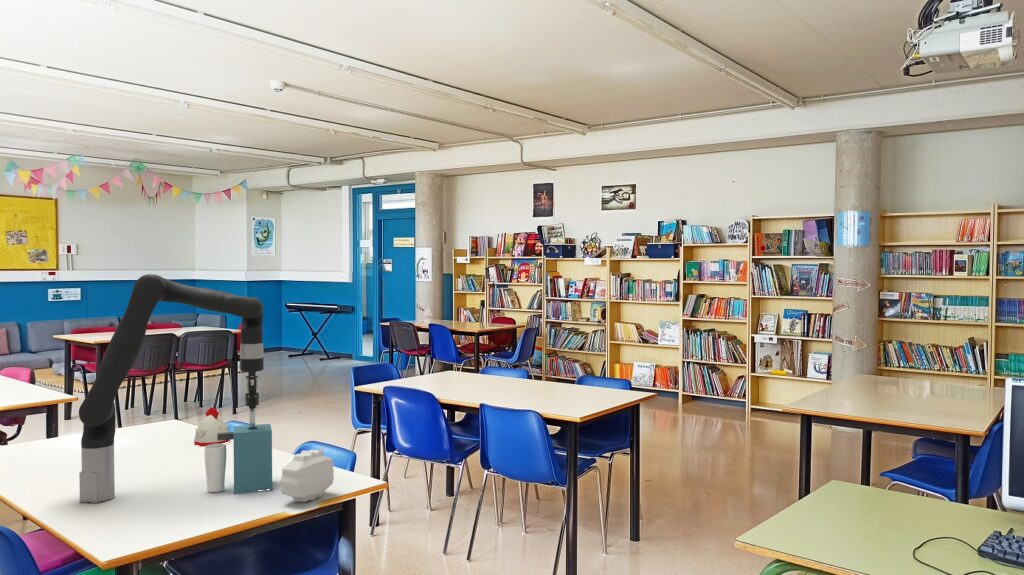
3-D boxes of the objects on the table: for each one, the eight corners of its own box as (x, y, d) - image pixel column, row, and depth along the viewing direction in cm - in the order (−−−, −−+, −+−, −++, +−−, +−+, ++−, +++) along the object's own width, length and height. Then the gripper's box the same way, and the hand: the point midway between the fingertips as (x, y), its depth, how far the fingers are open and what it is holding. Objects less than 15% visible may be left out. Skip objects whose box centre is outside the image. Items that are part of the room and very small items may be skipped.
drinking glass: (212, 495, 244) (211, 449, 244) (200, 491, 249) (200, 446, 248) (230, 490, 250) (230, 445, 249) (219, 486, 254) (219, 442, 254)
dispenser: (270, 480, 261) (270, 423, 260) (272, 490, 250) (271, 430, 249) (218, 485, 255) (217, 427, 255) (217, 495, 244) (217, 434, 243)
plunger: (259, 435, 256) (258, 391, 255) (259, 438, 251) (259, 393, 251) (245, 436, 254) (245, 392, 254) (245, 439, 250) (245, 394, 250)
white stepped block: (338, 494, 245) (338, 445, 245) (299, 510, 229) (299, 458, 229) (313, 489, 250) (313, 442, 250) (273, 504, 234) (272, 454, 234)
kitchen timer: (207, 448, 308) (207, 412, 308) (187, 443, 316) (187, 408, 315) (236, 441, 320) (236, 406, 319) (216, 437, 327) (216, 403, 327)
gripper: (264, 358, 247) (264, 410, 247) (262, 353, 260) (263, 402, 261) (240, 359, 244) (240, 411, 245) (239, 354, 257) (240, 404, 258)
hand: (252, 406), depth 253 cm, fingers closed on plunger, 4 cm apart
